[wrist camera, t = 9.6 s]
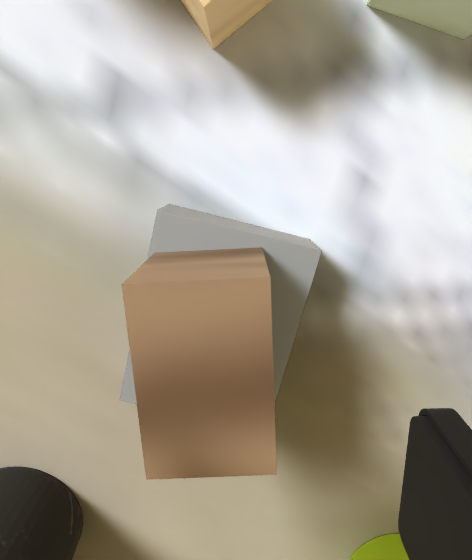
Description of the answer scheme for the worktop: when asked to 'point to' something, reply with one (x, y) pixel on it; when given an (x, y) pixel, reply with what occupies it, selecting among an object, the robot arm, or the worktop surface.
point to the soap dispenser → (382, 549)
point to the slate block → (234, 235)
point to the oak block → (222, 16)
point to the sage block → (432, 14)
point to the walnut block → (203, 363)
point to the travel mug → (37, 516)
